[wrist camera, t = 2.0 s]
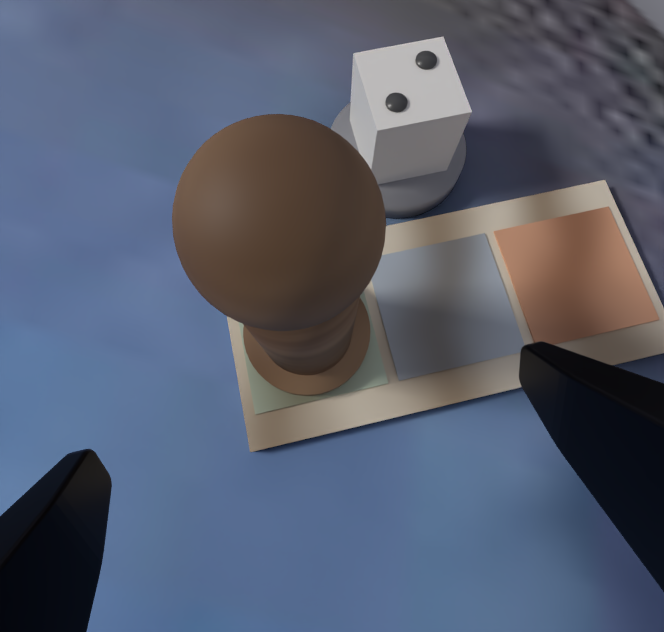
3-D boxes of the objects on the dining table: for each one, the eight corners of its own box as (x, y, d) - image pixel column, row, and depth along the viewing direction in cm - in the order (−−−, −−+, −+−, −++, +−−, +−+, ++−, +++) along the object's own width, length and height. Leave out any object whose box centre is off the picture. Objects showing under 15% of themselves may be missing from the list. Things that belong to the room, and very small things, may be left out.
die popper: (437, 94, 24) (466, 2, 19) (476, 203, 22) (520, 133, 17) (316, 118, 24) (311, 30, 18) (345, 230, 22) (349, 167, 17)
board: (597, 186, 22) (606, 178, 22) (672, 351, 20) (683, 348, 19) (220, 266, 21) (217, 261, 20) (252, 451, 19) (249, 452, 18)
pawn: (391, 315, 20) (487, 121, 8) (327, 420, 18) (317, 393, 6) (290, 255, 21) (229, -7, 8) (222, 353, 19) (31, 212, 7)
